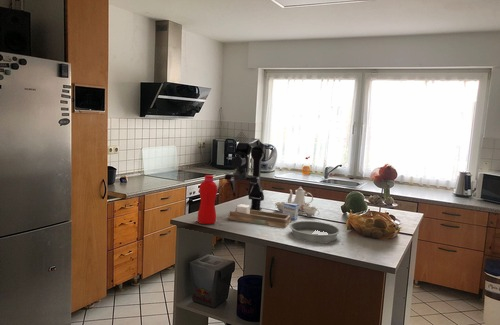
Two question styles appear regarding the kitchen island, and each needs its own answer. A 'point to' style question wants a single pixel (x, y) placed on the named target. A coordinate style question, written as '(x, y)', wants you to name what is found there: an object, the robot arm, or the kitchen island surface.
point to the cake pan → (306, 229)
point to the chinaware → (299, 203)
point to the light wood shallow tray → (262, 218)
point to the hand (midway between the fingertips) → (241, 193)
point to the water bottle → (207, 201)
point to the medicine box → (291, 210)
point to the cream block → (243, 208)
